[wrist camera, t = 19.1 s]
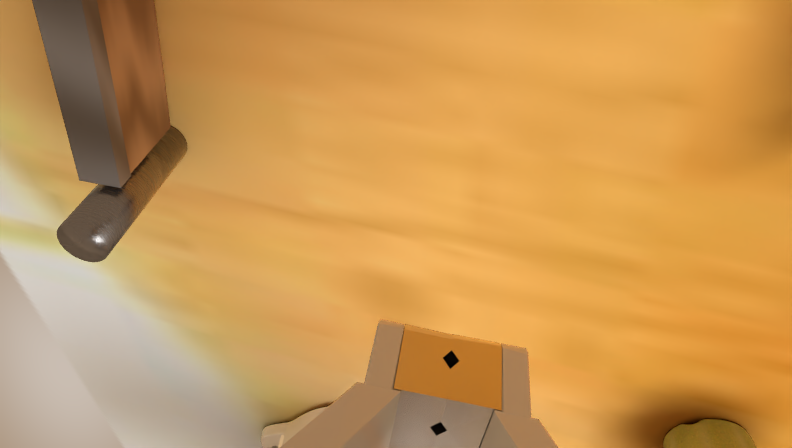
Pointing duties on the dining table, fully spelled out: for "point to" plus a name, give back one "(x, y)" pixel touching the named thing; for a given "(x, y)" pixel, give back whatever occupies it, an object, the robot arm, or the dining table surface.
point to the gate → (106, 82)
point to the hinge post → (119, 202)
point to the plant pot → (708, 435)
